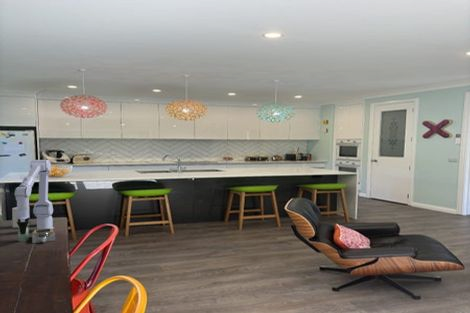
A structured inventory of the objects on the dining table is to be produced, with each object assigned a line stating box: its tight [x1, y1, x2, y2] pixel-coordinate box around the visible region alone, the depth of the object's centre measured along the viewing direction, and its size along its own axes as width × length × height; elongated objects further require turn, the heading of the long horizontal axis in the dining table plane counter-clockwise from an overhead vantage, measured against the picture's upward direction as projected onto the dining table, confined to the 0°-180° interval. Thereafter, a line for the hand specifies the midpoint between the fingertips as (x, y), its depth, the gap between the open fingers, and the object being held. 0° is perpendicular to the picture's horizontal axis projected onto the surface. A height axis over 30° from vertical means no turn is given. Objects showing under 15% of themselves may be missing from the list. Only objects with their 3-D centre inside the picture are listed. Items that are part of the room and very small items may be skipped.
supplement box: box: [11, 206, 31, 229], centre depth 236 cm, size 7×7×13 cm
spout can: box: [17, 226, 30, 243], centre depth 201 cm, size 5×5×8 cm
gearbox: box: [31, 228, 56, 244], centre depth 204 cm, size 20×11×4 cm, turn 29°
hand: (23, 232), depth 201 cm, fingers open, 7 cm apart
